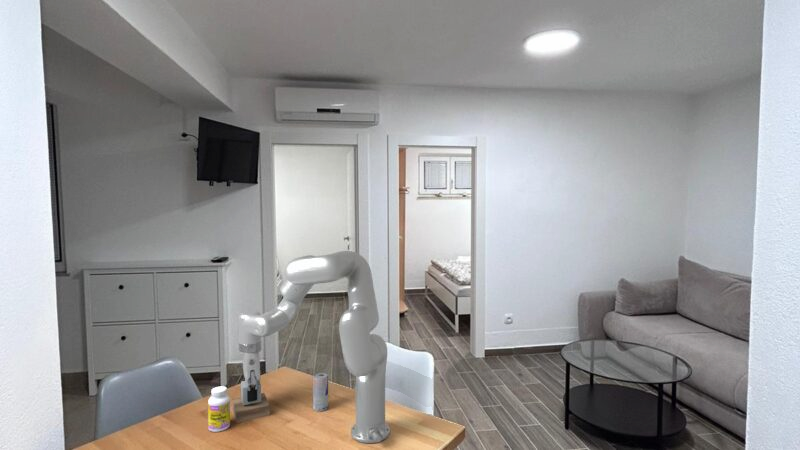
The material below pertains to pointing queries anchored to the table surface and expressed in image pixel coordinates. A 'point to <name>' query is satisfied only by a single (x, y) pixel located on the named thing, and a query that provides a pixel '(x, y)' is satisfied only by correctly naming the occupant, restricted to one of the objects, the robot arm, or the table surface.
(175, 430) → the table surface
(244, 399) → the slate cube
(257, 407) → the walnut block
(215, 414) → the supplement bottle
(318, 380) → the energy drink
